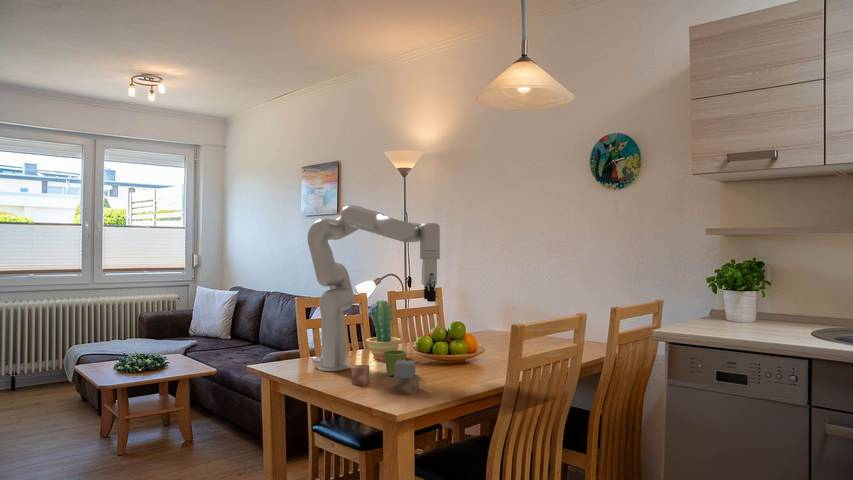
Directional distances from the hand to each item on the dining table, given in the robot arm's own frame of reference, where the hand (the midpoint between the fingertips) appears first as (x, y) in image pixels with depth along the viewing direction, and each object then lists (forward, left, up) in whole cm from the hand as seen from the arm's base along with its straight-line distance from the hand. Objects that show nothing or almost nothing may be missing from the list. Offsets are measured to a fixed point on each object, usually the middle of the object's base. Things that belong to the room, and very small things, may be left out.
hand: (429, 300), depth 223 cm
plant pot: (-13, -3, -29) cm, 31 cm away
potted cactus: (-26, +29, -29) cm, 48 cm away
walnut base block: (-4, -26, -29) cm, 39 cm away
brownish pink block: (-22, -18, -28) cm, 40 cm away
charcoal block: (-4, -26, -24) cm, 35 cm away
